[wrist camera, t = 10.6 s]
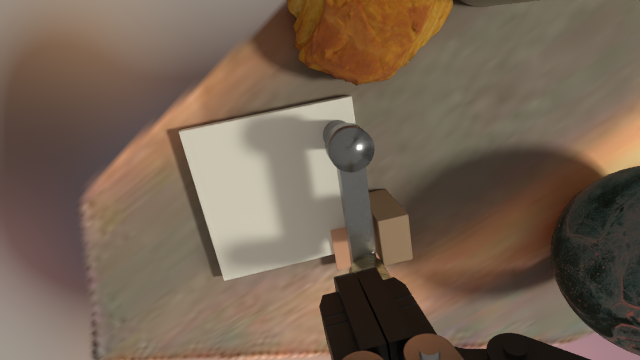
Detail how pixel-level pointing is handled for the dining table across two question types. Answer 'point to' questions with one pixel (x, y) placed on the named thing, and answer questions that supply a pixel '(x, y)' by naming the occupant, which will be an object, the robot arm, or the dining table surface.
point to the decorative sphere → (603, 257)
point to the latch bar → (355, 192)
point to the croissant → (364, 34)
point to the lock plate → (282, 191)
